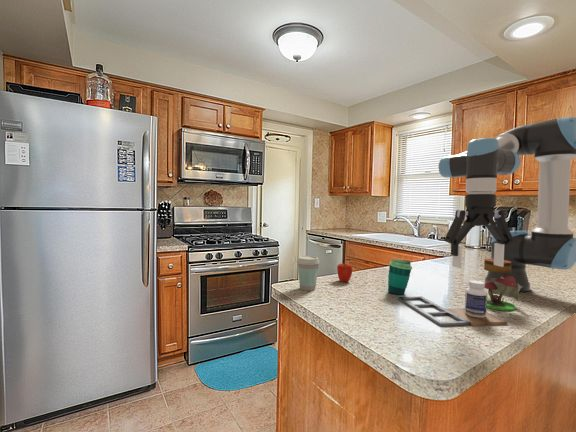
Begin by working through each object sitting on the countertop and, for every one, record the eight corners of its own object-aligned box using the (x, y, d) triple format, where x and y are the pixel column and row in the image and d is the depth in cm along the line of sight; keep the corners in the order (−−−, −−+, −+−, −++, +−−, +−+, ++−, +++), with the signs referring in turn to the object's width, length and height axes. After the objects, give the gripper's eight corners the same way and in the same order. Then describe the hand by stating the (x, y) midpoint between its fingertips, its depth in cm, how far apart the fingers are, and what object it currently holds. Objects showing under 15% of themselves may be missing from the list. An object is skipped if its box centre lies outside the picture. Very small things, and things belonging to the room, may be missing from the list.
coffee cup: (318, 292, 110) (319, 260, 109) (294, 291, 111) (295, 258, 111) (319, 286, 118) (320, 256, 118) (297, 285, 120) (298, 255, 119)
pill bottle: (489, 319, 85) (491, 285, 85) (468, 317, 86) (470, 283, 86) (481, 312, 91) (483, 280, 90) (461, 310, 92) (463, 279, 91)
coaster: (477, 310, 95) (477, 307, 95) (507, 324, 84) (507, 321, 84) (445, 311, 93) (445, 308, 93) (471, 325, 82) (471, 322, 82)
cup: (388, 288, 117) (389, 258, 117) (410, 291, 114) (412, 260, 114) (387, 294, 109) (388, 261, 109) (411, 297, 107) (412, 263, 106)
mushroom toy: (505, 314, 92) (508, 265, 91) (467, 301, 103) (469, 258, 103) (529, 310, 96) (532, 263, 96) (490, 298, 108) (492, 256, 107)
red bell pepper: (352, 280, 129) (353, 262, 129) (351, 283, 123) (351, 265, 123) (337, 278, 131) (338, 261, 131) (335, 282, 125) (336, 264, 125)
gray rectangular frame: (421, 298, 106) (421, 296, 105) (470, 325, 83) (470, 322, 83) (397, 299, 104) (397, 297, 104) (440, 326, 81) (440, 323, 81)
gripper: (507, 194, 93) (504, 262, 94) (432, 193, 89) (430, 264, 90) (530, 193, 85) (527, 267, 86) (450, 193, 81) (447, 270, 83)
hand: (477, 266), depth 88 cm, fingers open, 13 cm apart
